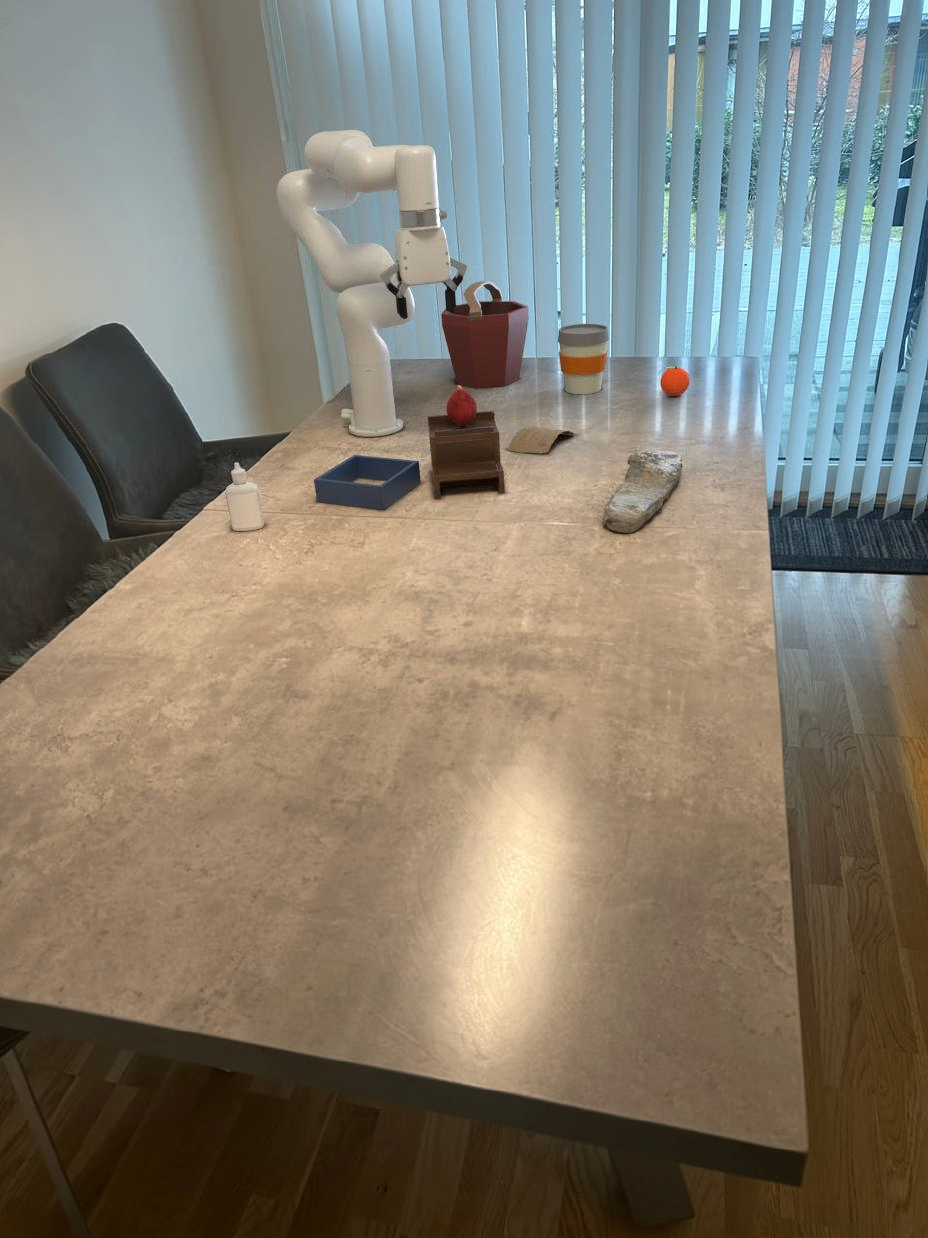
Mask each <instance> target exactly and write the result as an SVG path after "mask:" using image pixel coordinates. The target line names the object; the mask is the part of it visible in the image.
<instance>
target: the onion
mask: <svg viewBox="0 0 928 1238" xmlns="http://www.w3.org/2000/svg"><path fill="white" fill-rule="evenodd" d="M445 408H446V409H445V411H446V415H448V416H449V418H450V419H451V420H452V421H453V422H454V423H455V424H457V425H458V426H459V427H461V428H464V427H465V426H466V425H468V424H469V423H470V422H471V421H472V420H473V419H474V418H475V416H476V414H477V412H478V406H477V402H476V399H475V398H474V397H473V396H472V394H471V393H470V392H468V391H467V390H465V389H464V388H463V387H462V385H458V384H457V387H456V390H455V391H454V392H453V393H452V394H451V395H450V397H448V399H447V403H446V407H445Z"/></svg>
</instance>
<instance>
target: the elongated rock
mask: <svg viewBox="0 0 928 1238" xmlns="http://www.w3.org/2000/svg"><path fill="white" fill-rule="evenodd" d="M626 463H627V465H629V467H628V468H627V470H626V473H625V476H624V480H623V482H622V483H620V485H619V486H618V487H617V488H616V489H615V491H614V493H612V494H611V496H610V497H609V500H608V501H607V502H606V503H605V506H604V513H603V516H602V524H605V525H606V526H607V529H609V530H611V531H614V532H616V533H625V534H627V533H628V534H631V533H634V532H636V531H637V530H639V529H640V527H642V526H643V525H644V524H645V523H646V522H647V521H649V520H650V519H651V518H652V517H653V515H656V513H657V511H659V510H661V508H663V505H664V501H666V500H668V499H669V498H670V497H669V496H670V493H671V492H672V490H673V488H675V486H676V485H677V484H678V482H679V480H680V478H681V474H682V468H683V458H682V457H681V455H680V454H678V453H677V452H674V451H670V450H656V451H653V452H652V451H648V450H645V451H643V452H641V453H640V454H639V453H638V452H634V454H630V455H629V456H628V458H627V462H626Z"/></svg>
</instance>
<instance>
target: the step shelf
mask: <svg viewBox="0 0 928 1238" xmlns="http://www.w3.org/2000/svg"><path fill="white" fill-rule="evenodd" d="M495 417H496V416H495V410H486V411H477V414H476V416H475V418H474V419H473V420H472V421H471V422H470V423H469V424H468V425H466V426H465V427H464V428H461V427H459V426H458V425H457V424H455V423H454V422H453V421H452V420H451V419H450V418H449V416H448V415H447V414H437V415H436V414H435V415H428V416H427V426H428V427H427V428H428V437H429V448H430V450H429V451H430V462H431V463H430V464H431V474H432V482H433V490H434V491H433V492H434V499H435V500H440V499H441V498H442V497H441V488H447V487H449V488H451V487H460V486H461V487H463V486H472V485H474V486H475V485H483V484H484V485H485V484H496V486H497V490H498V493H499V494H505V492H506V488H505V485H506V484H505V469H504V467H503V464H502V461H501V444H500V443H501V442H500V441H501V440H500V430H499V428H498V424H497V422H496V419H495Z"/></svg>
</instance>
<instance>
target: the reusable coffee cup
mask: <svg viewBox="0 0 928 1238" xmlns="http://www.w3.org/2000/svg"><path fill="white" fill-rule="evenodd" d="M557 334H558V335H557V342H558V345H559V352H558V358H559V366H560V371H561V372H562V377H563V382H564V389H565V390H564V391H565V392H566V393H568V394H572V395H591V394H595V393H599V392H600V391H601V389H602V382H603V374H604V371H606V364H607V357H608V350H607V346H608V341H609V340H610V337H609V328H608V326H607V325H605V324H597V323H577V324H575V323H574V324H569V325H564V326H562V327H560V328H559V329H558V333H557Z"/></svg>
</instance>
